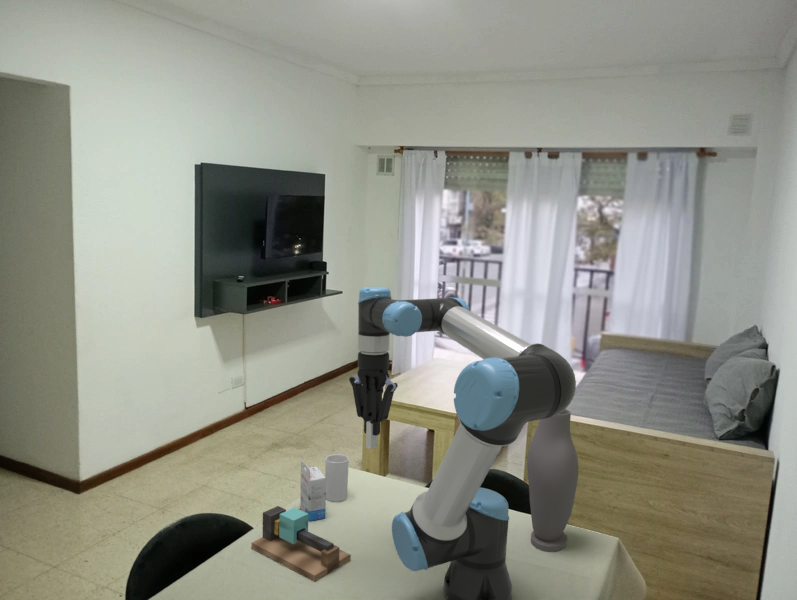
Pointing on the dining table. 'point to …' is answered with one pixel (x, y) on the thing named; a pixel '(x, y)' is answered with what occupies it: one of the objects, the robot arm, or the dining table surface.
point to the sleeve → (292, 524)
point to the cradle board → (299, 549)
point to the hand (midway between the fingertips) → (371, 446)
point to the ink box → (312, 492)
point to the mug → (336, 477)
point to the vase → (552, 481)
